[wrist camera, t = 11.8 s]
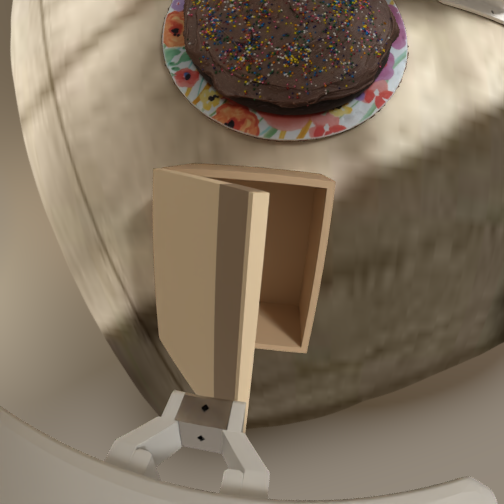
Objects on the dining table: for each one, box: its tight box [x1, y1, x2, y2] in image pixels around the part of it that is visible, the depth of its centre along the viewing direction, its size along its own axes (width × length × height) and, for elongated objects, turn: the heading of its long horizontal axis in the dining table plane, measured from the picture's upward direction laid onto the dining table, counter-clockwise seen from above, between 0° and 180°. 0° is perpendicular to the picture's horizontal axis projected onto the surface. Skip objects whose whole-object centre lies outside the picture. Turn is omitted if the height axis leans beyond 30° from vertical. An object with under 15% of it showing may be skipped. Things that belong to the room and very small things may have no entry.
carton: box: [163, 163, 336, 353], centre depth 29 cm, size 14×16×9 cm
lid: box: [153, 168, 270, 433], centre depth 20 cm, size 14×16×1 cm
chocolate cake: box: [162, 0, 409, 141], centre depth 23 cm, size 28×28×7 cm
